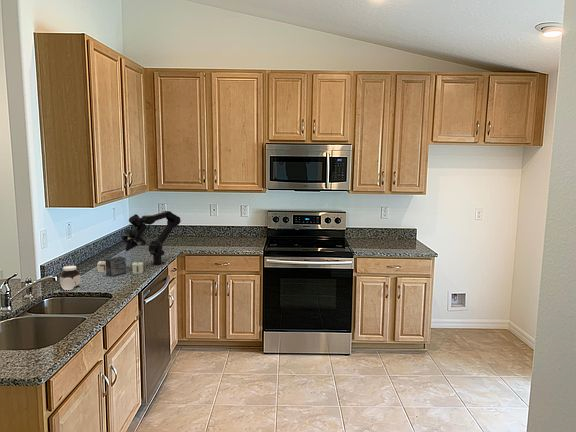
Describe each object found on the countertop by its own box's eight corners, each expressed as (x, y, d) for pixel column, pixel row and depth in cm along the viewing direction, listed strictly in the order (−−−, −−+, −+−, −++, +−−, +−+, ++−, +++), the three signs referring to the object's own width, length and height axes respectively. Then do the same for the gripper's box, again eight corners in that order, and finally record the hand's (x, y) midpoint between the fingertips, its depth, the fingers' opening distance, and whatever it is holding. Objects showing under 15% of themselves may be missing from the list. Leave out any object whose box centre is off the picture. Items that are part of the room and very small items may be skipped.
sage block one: (133, 271, 289) (133, 262, 289) (143, 271, 291) (143, 261, 290) (132, 274, 283) (132, 264, 282) (142, 273, 285) (142, 263, 284)
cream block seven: (99, 270, 292) (98, 261, 291) (109, 269, 293) (108, 260, 292) (97, 272, 286) (97, 263, 285) (107, 272, 287) (107, 262, 286)
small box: (121, 271, 288) (120, 255, 287) (126, 273, 284) (125, 257, 283) (105, 275, 280) (104, 258, 279) (111, 276, 276) (110, 260, 275)
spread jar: (76, 284, 260) (75, 264, 259) (85, 287, 253) (84, 267, 252) (55, 288, 251) (53, 268, 250) (64, 292, 244) (62, 271, 243)
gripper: (122, 222, 295) (108, 242, 287) (141, 225, 285) (128, 245, 277) (132, 233, 302) (119, 251, 294) (151, 235, 293) (138, 255, 285)
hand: (126, 250), depth 287 cm, fingers closed
